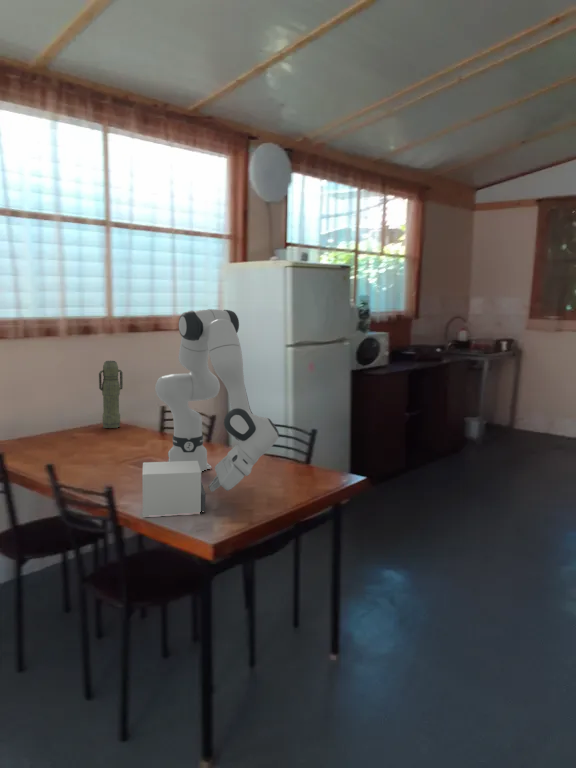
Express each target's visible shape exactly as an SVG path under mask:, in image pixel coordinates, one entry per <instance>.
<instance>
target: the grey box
mask: <svg viewBox="0 0 576 768" xmlns="http://www.w3.org/2000/svg"><path fill="white" fill-rule="evenodd" d="M141 480H142V483H141V484H142V517H143V516H149V515H165V514H178V513H193V512H201V482H202V472H201V470H200V467H199V463H198V461H174V462H168V461H150V462H149V461H148V462H142V479H141ZM201 513H202V512H201Z"/></svg>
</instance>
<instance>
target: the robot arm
mask: <svg viewBox="0 0 576 768" xmlns="http://www.w3.org/2000/svg"><path fill="white" fill-rule="evenodd" d="M239 327H240V322H239V317H238V315H237V313H236V312H235V311H232V310H229V309H213V308H211V309H210V308H209V309H202V310H201V309H200V310H187V311H185V312H182V314H181V315H180V317H179V319H178V330H179V334H180V336H181V340H180V345H179V350H178V351H179V352H178V361H179V364H180V365H181V366H182V367H183V368H185V369H186V370H188V371H189V372H187V373H169V374H165V375H162V376H160V377H159V378H158V379H157V381H156V383H155V385H154V386H155V388H154V389H155V390H154V391H155V393H156V396H157V397H158V399H159V400H160V401H161V402H163V403H164V404H166V406H167V407H168V409H169V410H170V412H171V416H172V420H173V435H172V447H171V448H170V449H169V451H168V452H167V457H168V460H167V462H174V461H198V463H199V467H200V470H201V473H203V472H202V471H204V470H206V469H210V468H212V465H210V463H208V450H207V448H206V447H205V446H204V445H203V444H204V435H203V417H202V415H201V413H199V412H198V411H196V410H195V409H192V408H190V406H189V402H197V401H199V402H200V401H207V400H211V399H214V398H217V396H218V395H219V392H220V388H221V384H220V380H221V382H222V384H223V385H224V387H225V389H226V391H227V394H228V398H229V402H230V403H229V404H230V407H231V410H229V411H228V412H227V413H226V414H225V417H224V419H223V425H224V428H225V431H226V432H227V433H228V434H229V435H230V436H232V437H233V438H234V439H236V440H237V441H238V442H237V443H236V444H235V446H234V447H233V446H232V449H230V450H229V451H228V452H227V455H226V456H224V457H223V458H222V459H221V460H220V461H219V462H217V464H216V465H215V466H214V470H215V473H216V475H215V477H214V478H213V480H212V481H211V483H210V484H208V488H209V491H210V492H212V493H213V492H215V491H216V489H219V488H221V487H222V488H223V489H224V490H225V491H230V490H232V489H233V488H234V487H236V485H238V484H239V483H240V482H241V481H242V480H243V479H244V478H245V476H246V477H248V476H249V475H250V474H251V472H252V470H253V467H254V465H255V464H256V463H257V462H258V460H259V459H260V458H261V456H263V455H265V454H266V453H267V452H268V451H269V450H270V449H271V448H272V447H273V446H274V445H275V444H276V442H277V441H278V439H279V438H280V437H279V436H280V433H279V430H278V428H277V427H276V425H275V424H274V422H273V421H272V420H271V419H270V418H268V417H262V416H259V415H256V414H254V413H253V412H252V409H251V407H250V403H249V399H248V394H247V391H246V390H247V389H246V385H245V379H244V378H245V377H244V376H245V375H244V367H243V366H244V364H243V353H242V348H241V343H240V340H239V336H238V331H239V329H240V328H239ZM209 360H210V363H211V365H212V368H213V370H214V373H215V374H216V375H217V376H218V377H217V376H216V375H215V374H214V373H213V372H212V371H211V370H210V368H209V363H208V362H209ZM218 378H219V379H220V380H219V379H218ZM210 470H211V469H210ZM206 471H207V470H206ZM204 472H205V471H204Z"/></svg>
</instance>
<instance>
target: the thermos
mask: <svg viewBox="0 0 576 768" xmlns="http://www.w3.org/2000/svg"><path fill="white" fill-rule="evenodd" d="M123 374H124V373H123V371H122V370H121V369H119V366H118V362H117V361H116V360H106V361H104V363H103V366H102V370H100V371H99V373H98V389H99V390H100V391H101V394H102V396H103V398H102V400H103V401H102V402H103V403H102V405H103V406H102V407H103V408H102V409H103V413H102V428H103V429H104V428H117V429H119V428H118V427H120V428H121V424H120V423H121V414H120V395H121V394H120V393H121V390H123V388H124V387H123V386H124V383H123V379H124V378H123V376H124V375H123ZM102 377H103V380H102Z"/></svg>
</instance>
